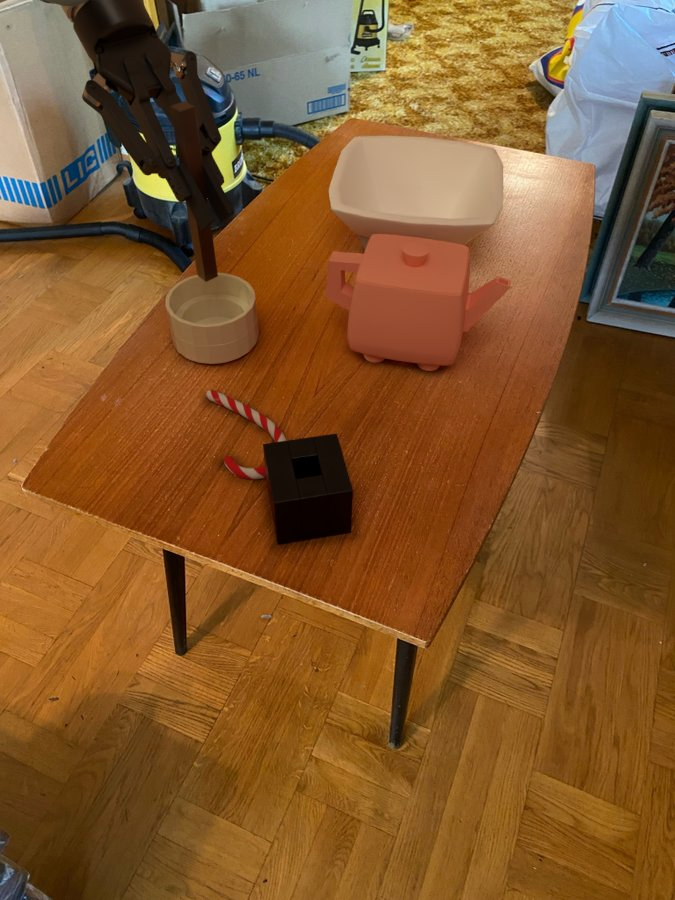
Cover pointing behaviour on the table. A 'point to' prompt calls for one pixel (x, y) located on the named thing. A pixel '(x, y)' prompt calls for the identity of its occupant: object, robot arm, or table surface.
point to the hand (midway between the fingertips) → (218, 221)
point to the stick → (192, 158)
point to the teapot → (409, 298)
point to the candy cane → (254, 417)
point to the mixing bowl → (212, 318)
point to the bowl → (417, 188)
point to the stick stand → (308, 488)
